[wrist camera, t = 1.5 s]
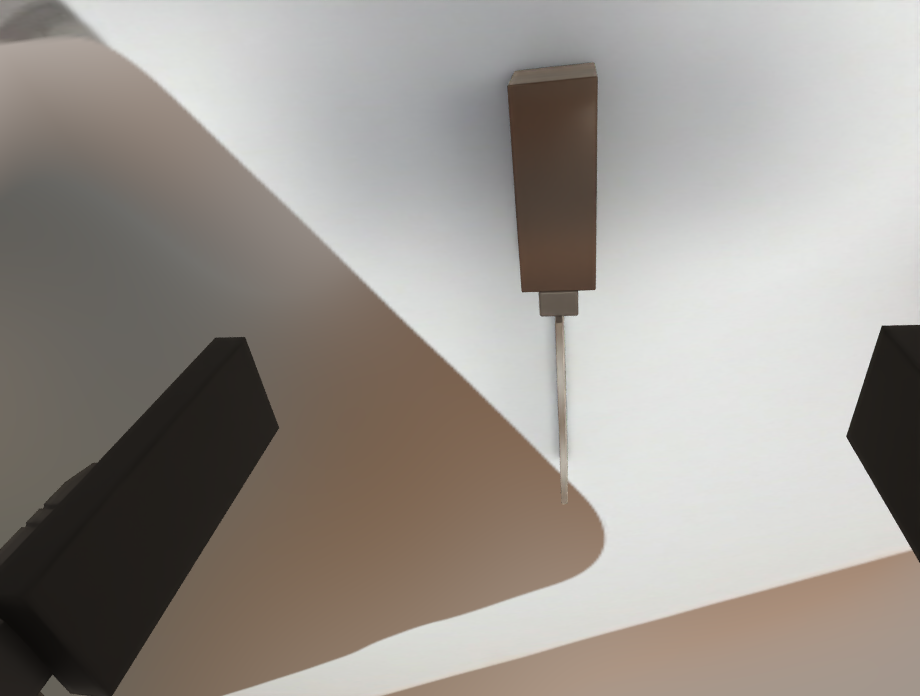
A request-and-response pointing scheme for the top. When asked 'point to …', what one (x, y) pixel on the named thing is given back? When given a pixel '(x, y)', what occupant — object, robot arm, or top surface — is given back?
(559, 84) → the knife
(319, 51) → the top surface
